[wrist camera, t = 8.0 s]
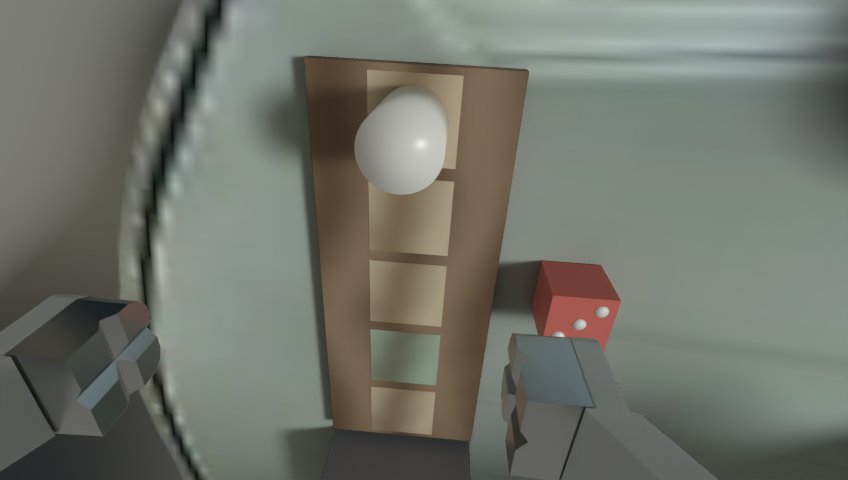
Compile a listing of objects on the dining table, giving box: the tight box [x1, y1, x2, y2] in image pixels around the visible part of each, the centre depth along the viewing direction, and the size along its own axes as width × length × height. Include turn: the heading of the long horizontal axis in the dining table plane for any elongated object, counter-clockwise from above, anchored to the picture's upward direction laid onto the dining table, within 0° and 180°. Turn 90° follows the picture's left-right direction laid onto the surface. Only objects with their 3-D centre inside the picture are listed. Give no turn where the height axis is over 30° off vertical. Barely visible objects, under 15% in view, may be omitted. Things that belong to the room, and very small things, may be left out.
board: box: [304, 56, 529, 441], centre depth 30 cm, size 12×30×1 cm, turn 177°
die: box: [531, 261, 621, 351], centre depth 28 cm, size 4×4×4 cm
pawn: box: [354, 84, 449, 195], centre depth 21 cm, size 4×4×6 cm
